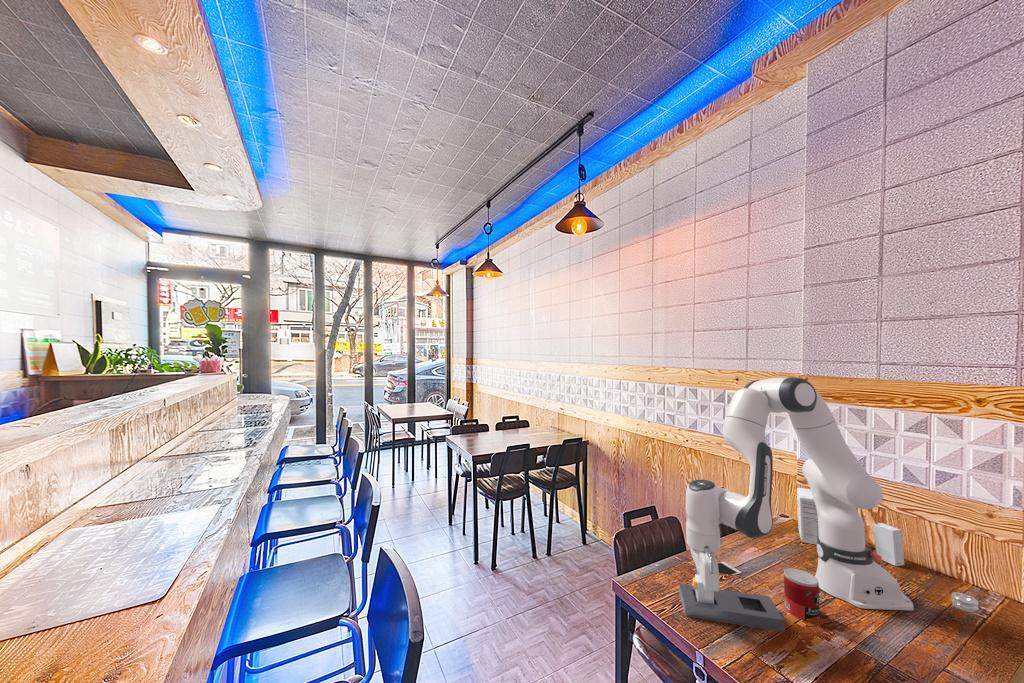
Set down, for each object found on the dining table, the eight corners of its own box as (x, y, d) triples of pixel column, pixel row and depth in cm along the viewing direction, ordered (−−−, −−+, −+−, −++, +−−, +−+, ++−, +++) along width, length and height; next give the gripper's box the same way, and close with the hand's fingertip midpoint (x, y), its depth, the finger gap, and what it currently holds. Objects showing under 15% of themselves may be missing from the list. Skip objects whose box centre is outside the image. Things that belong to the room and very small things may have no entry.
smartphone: (689, 572, 127) (689, 569, 127) (723, 563, 132) (723, 561, 132) (707, 584, 120) (707, 581, 120) (742, 574, 126) (742, 572, 126)
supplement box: (845, 551, 139) (843, 504, 140) (801, 542, 146) (799, 497, 147) (838, 537, 150) (837, 492, 151) (797, 528, 157) (796, 486, 158)
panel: (769, 610, 107) (769, 595, 108) (785, 635, 98) (784, 619, 98) (679, 597, 114) (679, 582, 114) (685, 619, 104) (685, 604, 104)
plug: (710, 604, 109) (710, 576, 109) (714, 613, 105) (713, 584, 105) (692, 601, 110) (692, 573, 110) (695, 610, 106) (694, 581, 106)
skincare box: (905, 565, 130) (903, 529, 130) (895, 566, 129) (893, 531, 129) (884, 556, 136) (882, 522, 136) (874, 557, 135) (873, 523, 135)
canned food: (811, 629, 100) (810, 587, 100) (779, 611, 107) (777, 572, 107) (826, 620, 103) (824, 579, 104) (793, 603, 111) (792, 565, 111)
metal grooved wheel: (947, 603, 110) (972, 614, 105) (946, 592, 110) (971, 603, 106) (958, 600, 112) (983, 611, 107) (957, 590, 112) (982, 600, 107)
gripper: (725, 559, 97) (727, 613, 97) (706, 524, 117) (708, 570, 116) (698, 556, 99) (700, 609, 98) (684, 522, 119) (686, 567, 118)
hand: (704, 587), depth 108 cm, fingers open, 8 cm apart
